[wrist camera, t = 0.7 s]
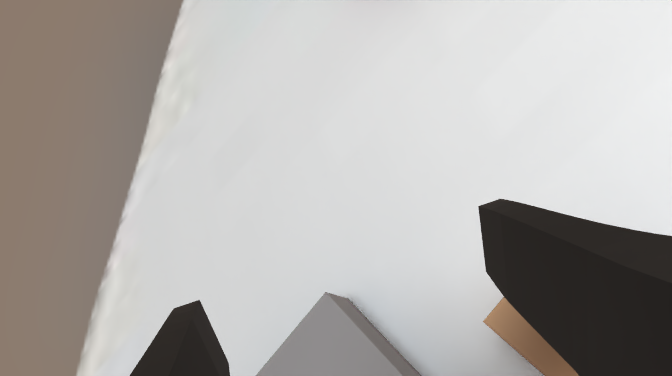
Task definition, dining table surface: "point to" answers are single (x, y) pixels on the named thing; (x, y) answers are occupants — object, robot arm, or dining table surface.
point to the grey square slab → (336, 345)
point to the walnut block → (527, 340)
